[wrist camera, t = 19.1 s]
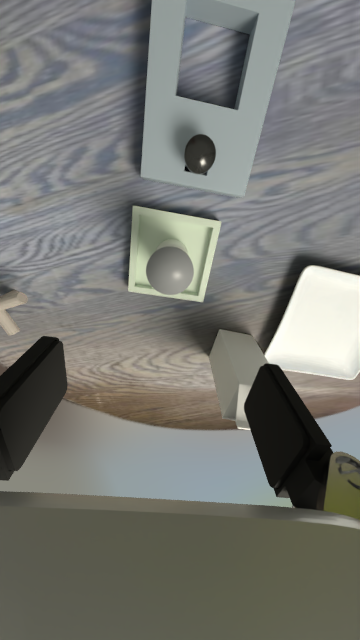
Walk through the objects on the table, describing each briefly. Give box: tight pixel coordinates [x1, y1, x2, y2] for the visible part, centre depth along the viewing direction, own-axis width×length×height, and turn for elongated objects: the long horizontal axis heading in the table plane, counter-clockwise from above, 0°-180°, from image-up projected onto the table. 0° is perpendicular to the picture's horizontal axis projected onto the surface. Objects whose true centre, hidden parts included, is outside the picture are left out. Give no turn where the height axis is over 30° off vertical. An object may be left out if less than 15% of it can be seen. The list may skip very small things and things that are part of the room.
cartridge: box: [146, 239, 194, 295], centre depth 30 cm, size 6×6×10 cm
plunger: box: [184, 134, 216, 174], centre depth 27 cm, size 4×4×6 cm
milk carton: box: [209, 329, 269, 430], centre depth 35 cm, size 7×7×19 cm
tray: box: [128, 206, 221, 302], centre depth 34 cm, size 13×13×2 cm
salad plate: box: [264, 265, 360, 380], centre depth 41 cm, size 21×21×3 cm
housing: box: [141, 0, 296, 198], centre depth 24 cm, size 14×24×3 cm, turn 171°
